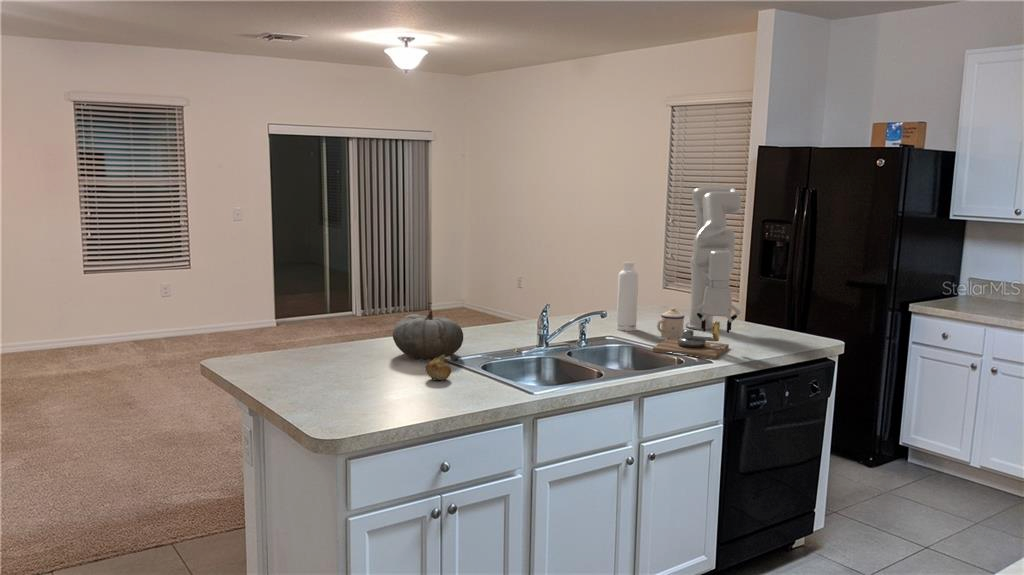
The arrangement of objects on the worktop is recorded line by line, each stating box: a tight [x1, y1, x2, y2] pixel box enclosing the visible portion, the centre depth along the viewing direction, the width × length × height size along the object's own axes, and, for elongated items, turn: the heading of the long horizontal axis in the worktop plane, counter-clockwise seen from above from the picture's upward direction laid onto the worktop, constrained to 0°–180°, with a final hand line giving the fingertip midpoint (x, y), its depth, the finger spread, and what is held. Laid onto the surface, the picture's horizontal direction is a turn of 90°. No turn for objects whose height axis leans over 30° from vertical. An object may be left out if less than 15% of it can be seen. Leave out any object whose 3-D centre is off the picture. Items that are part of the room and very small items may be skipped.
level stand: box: [652, 337, 730, 360], centre depth 294 cm, size 20×23×2 cm
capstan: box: [678, 321, 721, 347], centre depth 293 cm, size 15×10×9 cm
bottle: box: [616, 260, 639, 332], centre depth 327 cm, size 8×8×28 cm
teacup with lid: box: [656, 307, 685, 339], centre depth 314 cm, size 12×9×12 cm
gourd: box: [392, 309, 464, 361], centre depth 278 cm, size 25×25×17 cm
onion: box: [425, 355, 452, 381], centre depth 249 cm, size 8×8×8 cm
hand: (715, 331), depth 292 cm, fingers open, 8 cm apart
